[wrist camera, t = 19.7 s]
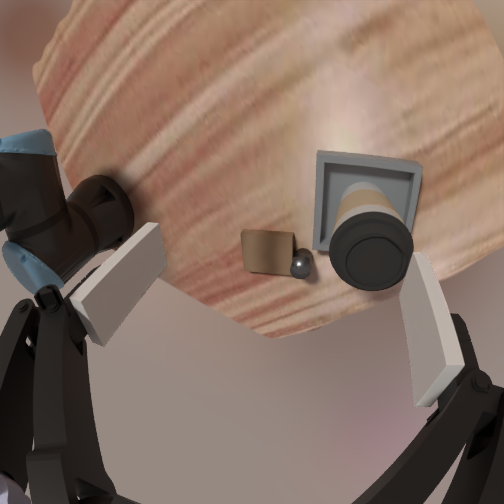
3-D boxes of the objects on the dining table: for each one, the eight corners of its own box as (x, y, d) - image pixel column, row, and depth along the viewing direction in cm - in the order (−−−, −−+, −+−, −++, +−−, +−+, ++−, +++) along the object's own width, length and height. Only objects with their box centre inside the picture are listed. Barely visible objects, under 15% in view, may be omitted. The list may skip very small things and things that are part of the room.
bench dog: (293, 263, 47) (289, 277, 44) (294, 247, 45) (290, 261, 42) (311, 265, 46) (309, 280, 43) (313, 249, 44) (310, 263, 41)
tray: (313, 240, 44) (312, 249, 42) (317, 150, 36) (316, 154, 34) (401, 250, 40) (404, 259, 38) (417, 161, 33) (422, 166, 31)
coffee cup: (363, 244, 41) (368, 315, 29) (319, 205, 40) (308, 265, 28) (407, 205, 36) (435, 266, 24) (362, 160, 35) (376, 203, 23)
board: (247, 264, 50) (244, 270, 49) (244, 227, 46) (240, 233, 45) (294, 268, 48) (292, 275, 46) (294, 231, 44) (292, 237, 43)
